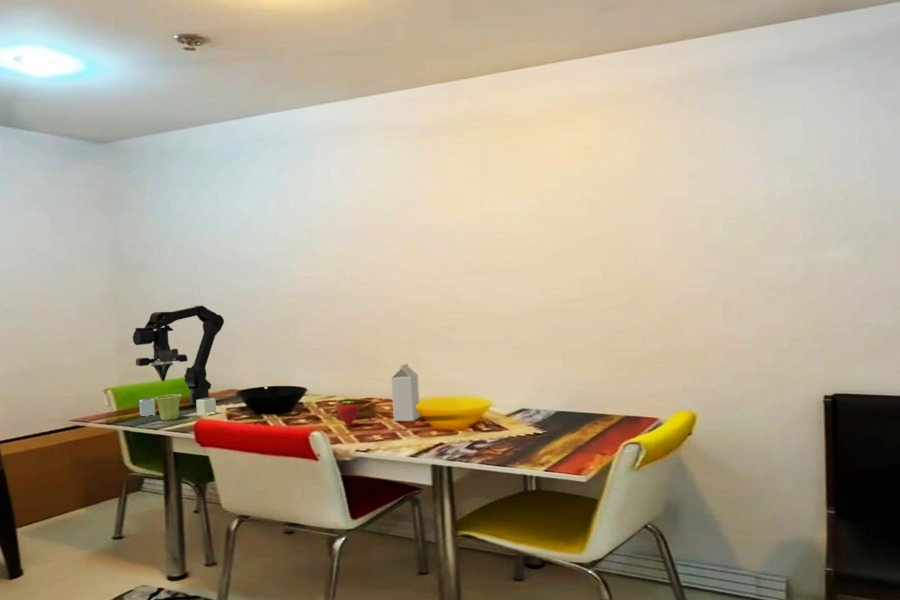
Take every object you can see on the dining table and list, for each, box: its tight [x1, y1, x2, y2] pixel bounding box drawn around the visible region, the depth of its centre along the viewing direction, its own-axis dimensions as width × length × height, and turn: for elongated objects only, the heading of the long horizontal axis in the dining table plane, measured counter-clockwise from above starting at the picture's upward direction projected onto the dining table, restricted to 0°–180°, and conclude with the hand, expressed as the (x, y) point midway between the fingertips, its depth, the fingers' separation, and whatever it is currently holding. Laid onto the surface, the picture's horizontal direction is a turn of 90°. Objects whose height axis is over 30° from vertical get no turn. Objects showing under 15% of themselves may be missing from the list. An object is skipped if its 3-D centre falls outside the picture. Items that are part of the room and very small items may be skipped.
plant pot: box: [154, 393, 182, 421], centre depth 256 cm, size 9×9×9 cm
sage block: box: [195, 397, 217, 417], centre depth 262 cm, size 5×5×6 cm
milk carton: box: [391, 363, 421, 422], centre depth 234 cm, size 7×7×19 cm
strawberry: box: [337, 396, 359, 427], centre depth 228 cm, size 6×8×10 cm
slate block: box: [138, 398, 156, 417], centre depth 267 cm, size 5×5×6 cm
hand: (163, 381), depth 276 cm, fingers closed
